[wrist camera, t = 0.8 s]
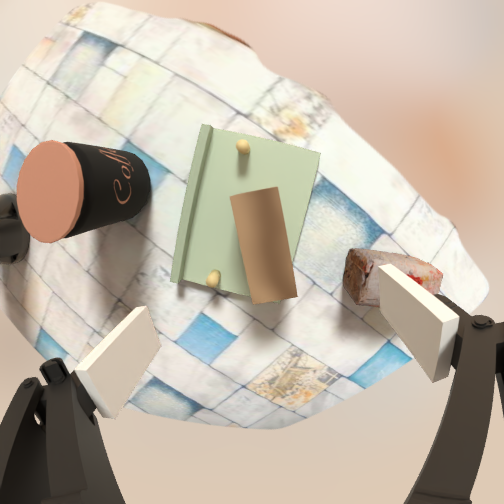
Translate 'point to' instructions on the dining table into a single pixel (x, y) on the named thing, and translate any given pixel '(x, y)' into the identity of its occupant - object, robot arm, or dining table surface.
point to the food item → (367, 274)
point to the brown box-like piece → (264, 245)
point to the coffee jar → (78, 189)
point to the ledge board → (219, 205)
